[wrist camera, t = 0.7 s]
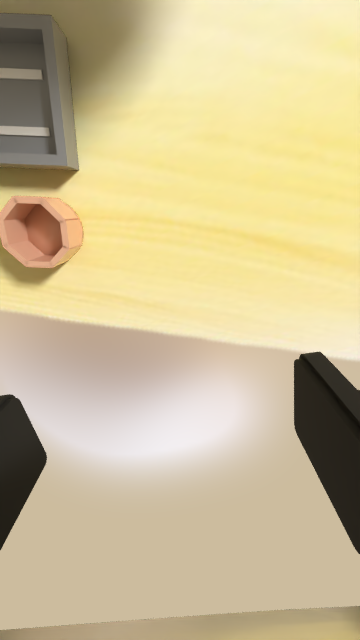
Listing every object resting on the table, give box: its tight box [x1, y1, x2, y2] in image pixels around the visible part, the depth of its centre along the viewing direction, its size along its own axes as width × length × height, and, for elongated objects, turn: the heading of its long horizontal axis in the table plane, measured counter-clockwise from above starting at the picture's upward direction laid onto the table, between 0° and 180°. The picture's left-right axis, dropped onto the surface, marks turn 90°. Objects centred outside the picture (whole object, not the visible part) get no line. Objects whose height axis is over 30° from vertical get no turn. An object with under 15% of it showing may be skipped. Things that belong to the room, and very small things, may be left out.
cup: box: [0, 196, 83, 268], centre depth 32 cm, size 8×8×5 cm
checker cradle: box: [0, 13, 79, 170], centre depth 28 cm, size 12×12×4 cm
